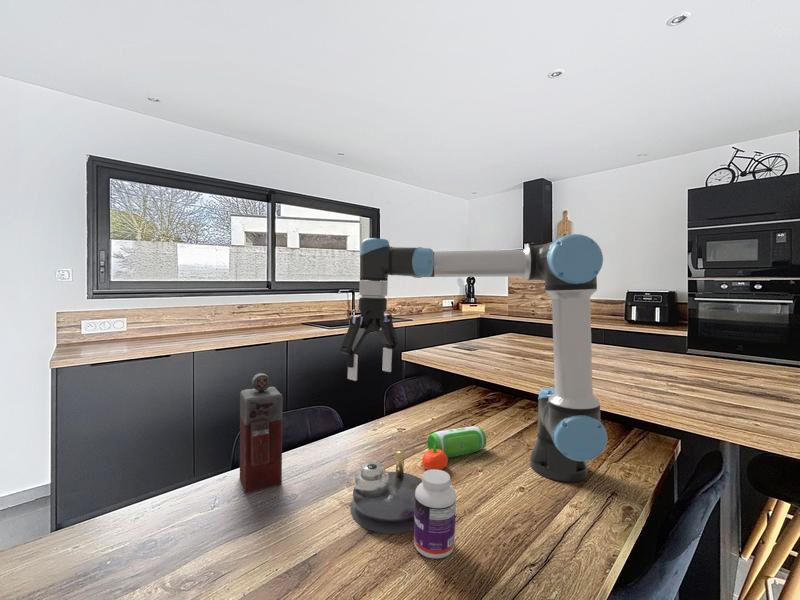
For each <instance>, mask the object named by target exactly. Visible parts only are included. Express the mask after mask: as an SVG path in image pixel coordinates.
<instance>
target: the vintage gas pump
mask: <svg viewBox="0 0 800 600" xmlns="http://www.w3.org/2000/svg"><path fill="white" fill-rule="evenodd" d="M251 385H252V387H253V388H247V389H242V390H241V391H240V393H239V480H240V483H241V486H242V489H243V493H244V494H248V493H253V492H256V491H260V490H264V489H269V488H273V487H278V486H281V485H282V484H283V481H282V479H283V477H282V476H283V469H282V468H283V400H284V399H283V395H282V393H280V391H278V389H277V388H276V387H275V386H270V385H271V379H270V377H269V376H268V375H267V374H266V373H264V372H263V373H261V372H259V373H257V374H254V376H253V377H252V378H251Z"/></svg>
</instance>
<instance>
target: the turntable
mask: <svg viewBox="0 0 800 600" xmlns="http://www.w3.org/2000/svg"><path fill="white" fill-rule="evenodd" d="M395 455H396V456H395V471H387V472H388V474H389V488H388V491H387V492H386V493H385V494H383V495H381V496H378V497H364V496H361V495H359V494H358V493H356V491H355V489H354V488H353V490H352V501H353V505H354V507H355V509H356V511H357V512H358V513H359V514H361V515H362V516H364V517H365V518H367V519H369V520H372V521H375V522H379V523H386V524H399V523H405V522H410V521H413V520H414V519H415V518H414V517H415V491H416V488H417V486H418V485H419V484H420V483H422V478H420V477H418V476H417V475H413V474H411V473H407V472H405V451H404V450H403V449H397V450H396V454H395Z"/></svg>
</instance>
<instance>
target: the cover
mask: <svg viewBox="0 0 800 600" xmlns="http://www.w3.org/2000/svg"><path fill="white" fill-rule="evenodd" d="M388 472H389V471H388V470H386V469H385V468H384V466H383V464H382V463H381V462H378V461H368V462H367V461H366V462H364V463H362V464H361V466H360V469H358V470H357V471H356V472H355V473H354V487H353V490H354V489H355V491H356V493H358V494H359V495H361V496H364V497H378V496H381V495H383V494H385V493H386V492H387V491H388V488H389V474H388Z"/></svg>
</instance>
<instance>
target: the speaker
mask: <svg viewBox="0 0 800 600" xmlns="http://www.w3.org/2000/svg"><path fill="white" fill-rule="evenodd" d="M426 444H427V445H426V446H427V449H428V450H427V451H429V450H431V449H433V447H434V446H435V447H436V449H439V450H442V451H443V452H444V453H445V454H446V456H447V458H452V457H453V458H454V457H459V455H460V456H465V455H469V454H468V453H470V454H473V453H474V452H478V451H481V450H483V449H484V448H485V447H486V445H487V436H486V433H485V431H484V430H483V428H482V427H479V426H466V427H465V426H464V427H460V428H453V429H451V428H450V429H445V430H439V431H435V432H432V433H431V434H429V435H428V437H427V440H426ZM464 454H465V455H464Z"/></svg>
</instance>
